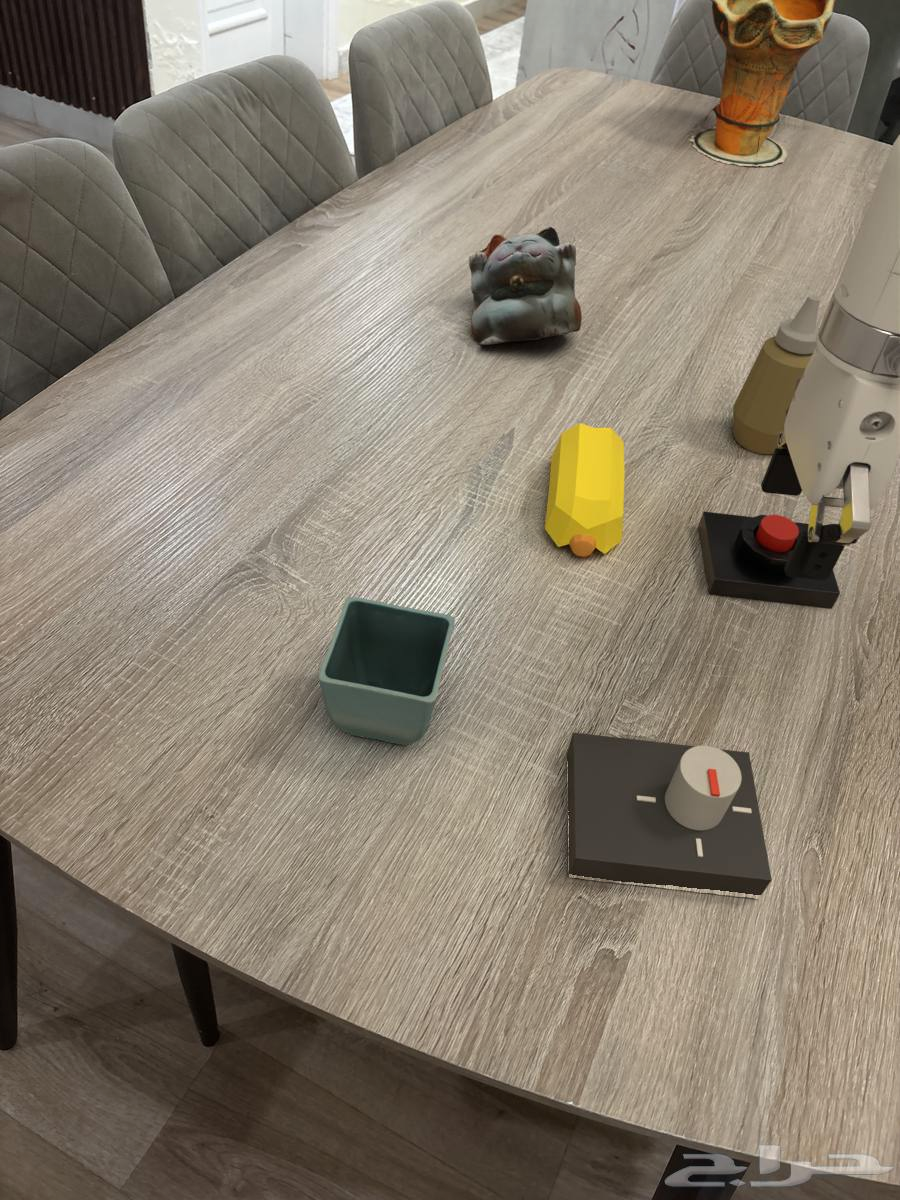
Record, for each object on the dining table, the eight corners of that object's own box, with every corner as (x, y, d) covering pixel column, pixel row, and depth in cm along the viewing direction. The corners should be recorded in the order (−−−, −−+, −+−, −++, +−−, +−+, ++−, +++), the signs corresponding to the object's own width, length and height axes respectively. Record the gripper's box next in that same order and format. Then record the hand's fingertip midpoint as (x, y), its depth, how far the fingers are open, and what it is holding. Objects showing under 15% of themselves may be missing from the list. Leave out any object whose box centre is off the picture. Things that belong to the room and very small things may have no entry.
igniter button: (789, 530, 93) (795, 516, 91) (795, 554, 90) (802, 541, 89) (753, 525, 93) (758, 512, 91) (758, 550, 90) (764, 536, 89)
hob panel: (737, 773, 76) (750, 750, 74) (758, 900, 68) (772, 879, 66) (566, 753, 76) (573, 730, 74) (567, 878, 68) (575, 856, 66)
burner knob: (661, 776, 72) (678, 739, 68) (719, 782, 72) (737, 745, 68) (667, 827, 68) (685, 791, 65) (727, 833, 69) (747, 798, 65)
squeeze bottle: (712, 442, 108) (763, 298, 96) (739, 412, 113) (790, 271, 100) (778, 471, 106) (839, 326, 93) (803, 438, 110) (864, 297, 98)
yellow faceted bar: (540, 559, 92) (618, 571, 92) (551, 507, 87) (633, 520, 87) (551, 451, 105) (619, 461, 104) (561, 400, 100) (633, 411, 99)
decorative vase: (653, 142, 174) (693, -35, 154) (725, 120, 186) (771, -47, 166) (745, 182, 164) (801, -2, 144) (815, 156, 176) (876, -17, 156)
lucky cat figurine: (453, 348, 118) (448, 229, 114) (485, 342, 128) (481, 234, 124) (570, 344, 112) (569, 219, 108) (593, 339, 123) (593, 225, 119)
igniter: (811, 540, 98) (826, 511, 95) (831, 609, 91) (847, 579, 88) (697, 527, 97) (708, 497, 95) (708, 595, 90) (720, 565, 88)
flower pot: (427, 772, 74) (435, 702, 67) (317, 750, 74) (316, 678, 68) (446, 687, 80) (456, 615, 73) (345, 667, 80) (346, 594, 74)
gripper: (985, 416, 54) (868, 617, 67) (901, 275, 66) (815, 468, 79) (857, 403, 54) (763, 607, 66) (796, 264, 66) (726, 459, 78)
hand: (791, 531), depth 72 cm, fingers open, 9 cm apart
